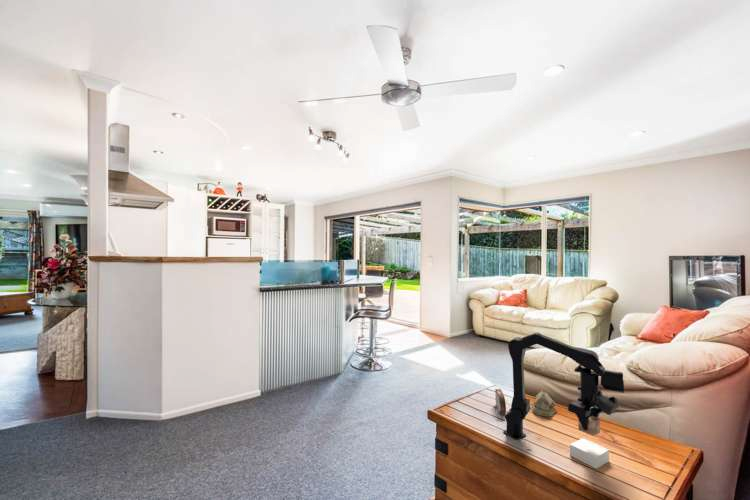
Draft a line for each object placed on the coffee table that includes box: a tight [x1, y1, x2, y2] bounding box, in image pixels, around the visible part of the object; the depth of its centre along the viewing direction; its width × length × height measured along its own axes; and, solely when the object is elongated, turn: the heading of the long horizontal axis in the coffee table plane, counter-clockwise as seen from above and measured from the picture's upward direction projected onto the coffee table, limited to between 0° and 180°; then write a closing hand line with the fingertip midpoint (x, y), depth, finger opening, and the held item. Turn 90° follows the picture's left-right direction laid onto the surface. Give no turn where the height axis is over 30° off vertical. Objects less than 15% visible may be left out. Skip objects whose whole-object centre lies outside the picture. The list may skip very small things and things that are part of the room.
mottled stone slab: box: [494, 388, 507, 415], centre depth 158 cm, size 15×3×8 cm, turn 168°
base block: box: [569, 437, 610, 470], centre depth 120 cm, size 9×9×4 cm
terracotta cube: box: [577, 416, 601, 437], centre depth 120 cm, size 5×5×5 cm
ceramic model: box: [530, 389, 558, 417], centre depth 158 cm, size 14×11×10 cm
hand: (589, 428), depth 120 cm, fingers closed on terracotta cube, 5 cm apart
